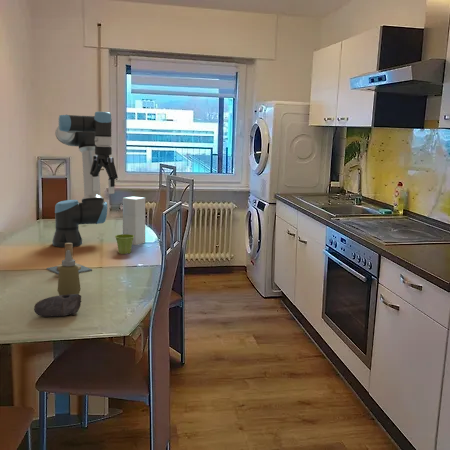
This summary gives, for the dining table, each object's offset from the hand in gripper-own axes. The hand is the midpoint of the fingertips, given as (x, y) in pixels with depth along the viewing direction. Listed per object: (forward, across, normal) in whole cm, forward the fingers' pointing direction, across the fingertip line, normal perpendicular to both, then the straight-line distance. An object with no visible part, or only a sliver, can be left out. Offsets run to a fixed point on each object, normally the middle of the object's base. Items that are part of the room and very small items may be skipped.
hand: (103, 192), depth 238 cm
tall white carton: (+32, -21, +31) cm, 49 cm away
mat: (+32, +8, -22) cm, 40 cm away
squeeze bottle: (+32, +44, -41) cm, 68 cm away
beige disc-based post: (+31, +8, -22) cm, 39 cm away
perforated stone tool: (+32, +57, -51) cm, 83 cm away
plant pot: (+32, -4, +14) cm, 36 cm away
